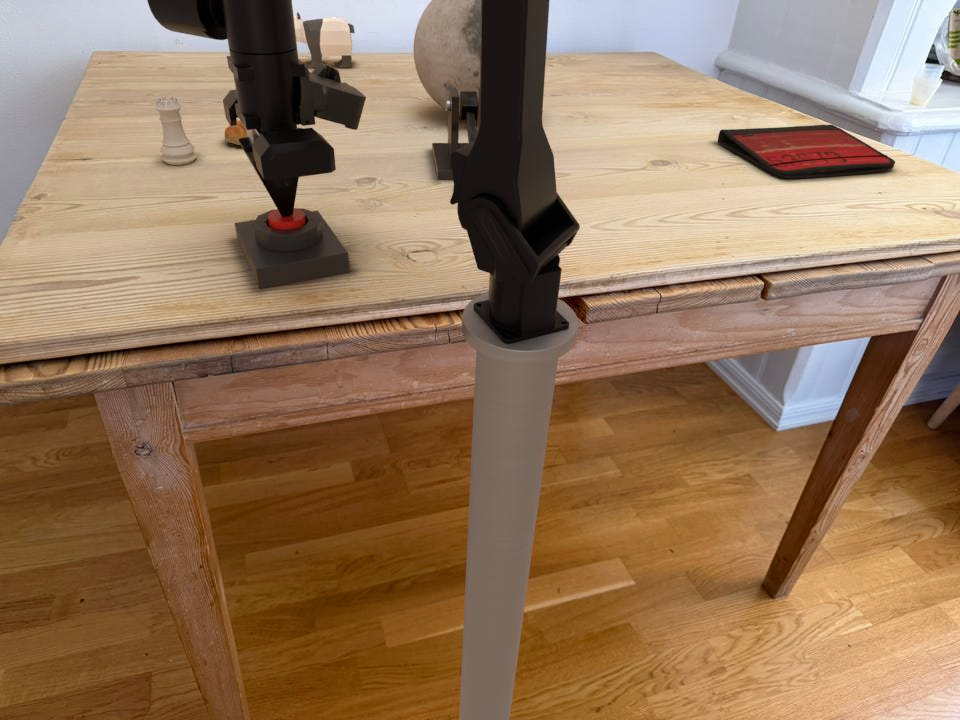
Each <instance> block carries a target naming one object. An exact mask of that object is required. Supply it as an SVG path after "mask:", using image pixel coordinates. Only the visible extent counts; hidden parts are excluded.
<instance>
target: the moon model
mask: <svg viewBox="0 0 960 720" xmlns="http://www.w3.org/2000/svg"><path fill="white" fill-rule="evenodd" d="M413 38H414V39H413V60H414V65H415V70H416V73H417V76H418V78H419V81H420V83H421V85H422V87H423V88H424V90H425V91H426V93H427V94H428V95H429V96H430V98H431V99H432V100H433V101H434V102H435V103H436V104H437V105H438V106H439V107H440V108H442V109H444V110H445V111H446V100H449V87H456V89H457V92H458V94H459V101H460V91H476V92H477V98H478V88H479V87H480V46H481V0H431V1H430V2H429V3H428V4H427V6H426V7H425V8H424V10H423V12H422V13H421V16H420V18H419V20H418V22H417V25H416V28H415V33H414V37H413ZM459 117H460V109H459Z"/></svg>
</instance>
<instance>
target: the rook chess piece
mask: <svg viewBox="0 0 960 720" xmlns="http://www.w3.org/2000/svg"><path fill="white" fill-rule="evenodd" d="M155 101H156V102H155V106H154V109H155V110H156V111H157V112H158V113H159V118H158V120H159V121H160V123H161V126H162V127H161V128H162V136H163V137H162V142H161V144H162V145H161V147H160V153H161V154H162V155H161V160H162V161H163V162H165V163H166V164H167V165H173V166H181V165H188V164H191V163H193V162H194V161H195V160H196V158H197V154H196V152H195V150H196V149H195V146H194V145H193V144H192V143H191V141H190V139H189V138H188V136H187V135H186V131H185V129H184V127H183V123H182V119H183V117H182V116H181V114H180V110H181V108H182V105H181V103H179V101H178V98H177V97H175V96H172V95H170V96H168V99H167V97H166V96H164V95H163V96H161V97H157V98H156V99H155Z"/></svg>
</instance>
